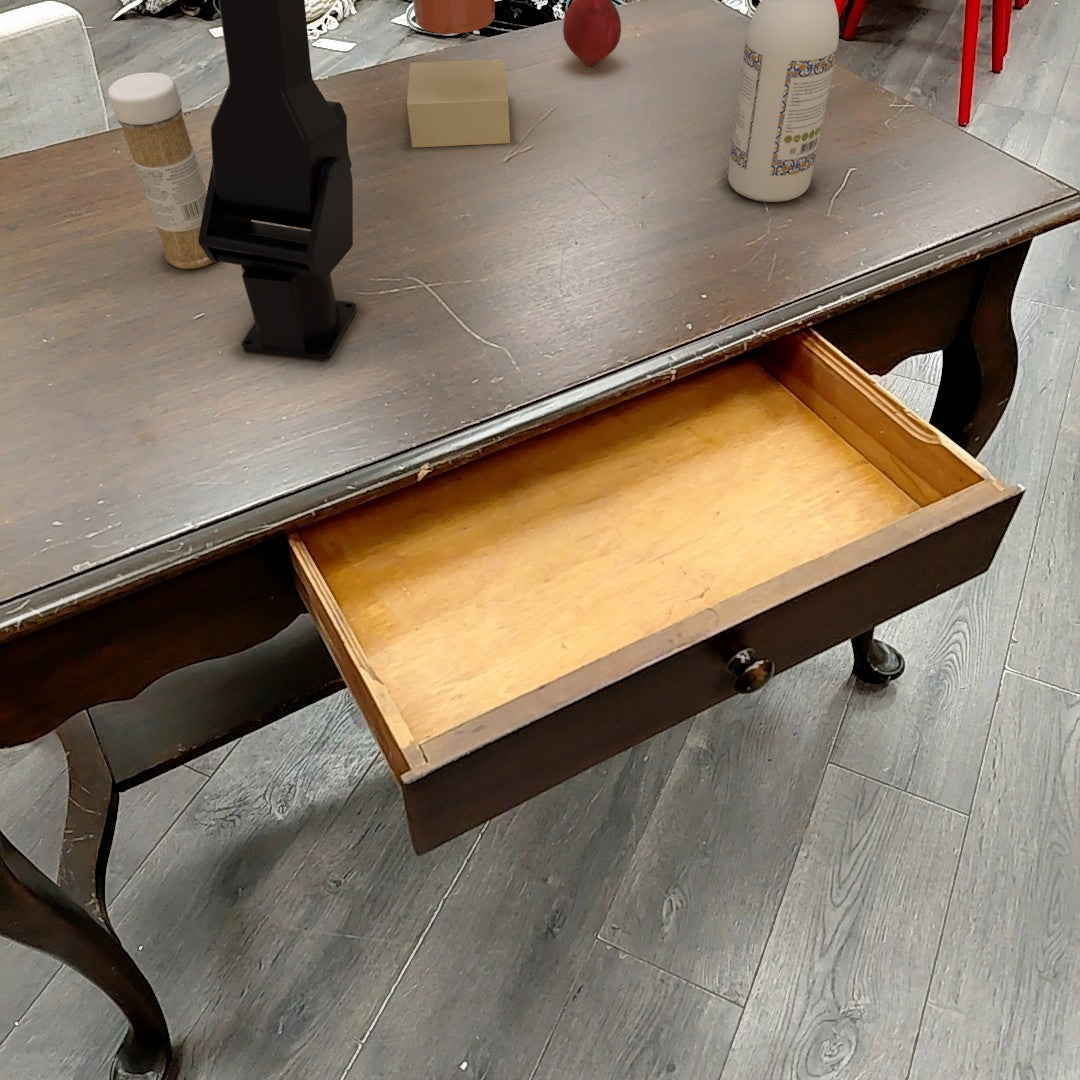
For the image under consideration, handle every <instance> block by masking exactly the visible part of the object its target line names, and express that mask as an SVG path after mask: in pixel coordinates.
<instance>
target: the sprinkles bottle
mask: <svg viewBox="0 0 1080 1080" xmlns="http://www.w3.org/2000/svg"><path fill="white" fill-rule="evenodd" d="M175 82H176V81H175V80H174V79H173V78H172V77H171V76H169V75H167V74H165V73H161V72H153V71H151V72H138V73H134V74H129V75H127V76H123V77H121V78H119V79H117V80H115V81H114V82H113V83H112V84H110V86H109V88H108V89H107V95H108V99H109V101H110V105H111V107H112V112H113V114H114V116H115V118H116V120H117V122H118V124H119V125H120V126H121V128H122V131H123V134H124V136H125V139H126V142H127V145H128V146H127V147H128V149H129V152H130V154H131V159H132V162H133V164H134V169H135V171H136V175H137V177H138V180H139V182H140V186H141V189H142V192H143V195H144V198H145V201H146V203H147V206H148V209H149V212H150V214H151V217H152V220H153V223H154V225H155V226H156V230H157V232H158V234H159V238H160V240H161V244H162V246H163V249H164V256H165V259H166V261H167V262H168V263H169V264H170V265H172V266H174V268H175V267H176V268H177V269H185V270H186V269H187V270H188V269H192V270H193V269H199V268H203V267H206V266H209V265H211V264H213V263H214V262H212V261H210V259H209V258H208V256H207V255H206V253H205V252H204V250H203V249H202V247H201V246H200V244H199V241H198V238H199V233H200V227H201V222H202V217H203V211H204V206H205V201H206V195H207V190H206V186H205V181H204V180H203V176H202V173H201V168H200V165H199V162H198V159H197V156H196V153H195V150H194V148H193V145H192V142H191V140H190V139H191V138H190V136H189V133H188V129H187V126H186V122H185V120H184V117H183V108H182V101H181V97H180V93H179V91H178V88H177V86H176V85H177V84H176V83H175Z"/></svg>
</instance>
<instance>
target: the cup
mask: <svg viewBox="0 0 1080 1080" xmlns="http://www.w3.org/2000/svg"><path fill="white" fill-rule="evenodd" d="M412 2H413V11H414V12H413V13H414V17H415V18H414V19H415V24H416V25H417V26H418V27H419V28H420V29H421V28H422V29H423V30H425V31H427V32H432V33H436V34H443V35H444V34H445V35H453V34H454V35H455V34H457V35H458V34H466V33H470V32H474V31H478V30H482V29H484V28H485V27H487V26H489V25H490V24H492V23H493V22H494V21H495V20H494V19H495V17H496V14H495V13H496V12H495V10H496V3H495V2H496V1H495V0H412Z"/></svg>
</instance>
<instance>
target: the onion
mask: <svg viewBox="0 0 1080 1080" xmlns="http://www.w3.org/2000/svg"><path fill="white" fill-rule="evenodd" d="M563 19H564V20H563V28H562V33H563V40H564V42H565V43H566V45H567V47H568V49H569V50H570V51H571V52H572V54H573V55H575V56H576V57H577V58H578V59H579V60H580V61H581V62H582V64H584V65H585V66H587V67H589V68H590V67H594V66H596V65H598V64H599V63H600V62H601V61H604V60H605V59H606V58H607V57H608V56H610V54H611V53H612V52H613V51H614V50H615V49H616V48H617V46H618V44H619V42H620V40H621V34H622V22H621V18H620V14H619V11H618V9H617V7H616V6H615V4H614V3H613V1H612V0H573V1H572V2H571V3H570V5H569V6H568V7H567V9H566V12H565V15H564V18H563Z"/></svg>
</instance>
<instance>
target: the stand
mask: <svg viewBox="0 0 1080 1080" xmlns="http://www.w3.org/2000/svg"><path fill="white" fill-rule="evenodd" d="M407 83H408V85H407V99H406V108H407V116H408V117H407V118H408V125H409V134H410V141H411V148H412V149H415V148H417V149H418V148H435V147H437V148H438V147H455V146H480V145H481V146H482V145H501V144H502V145H503V144H510V143H511V131H510V130H511V129H510V107H509V106H510V105H509V104H510V103H509V92H508V79H507V69H506V59H505V58H493V59H492V58H490V59H489V58H488V59H469V60H468V59H467V60H445V61H422V62H419V61H418V62H410V63H409V72H408V82H407Z"/></svg>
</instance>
